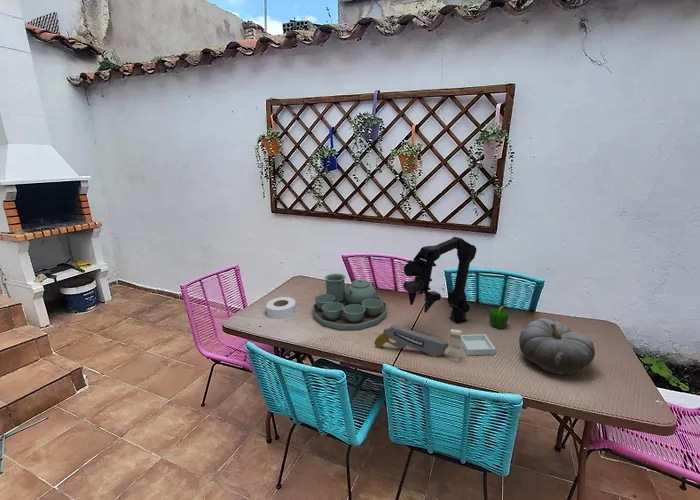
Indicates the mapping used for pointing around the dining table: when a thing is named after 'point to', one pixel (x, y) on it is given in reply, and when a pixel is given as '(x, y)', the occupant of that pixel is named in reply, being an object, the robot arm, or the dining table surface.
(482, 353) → the tray
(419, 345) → the gun
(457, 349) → the handle block
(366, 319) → the tea set
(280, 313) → the roll of tape
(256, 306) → the dining table surface
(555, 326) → the gourd
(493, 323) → the bell pepper
